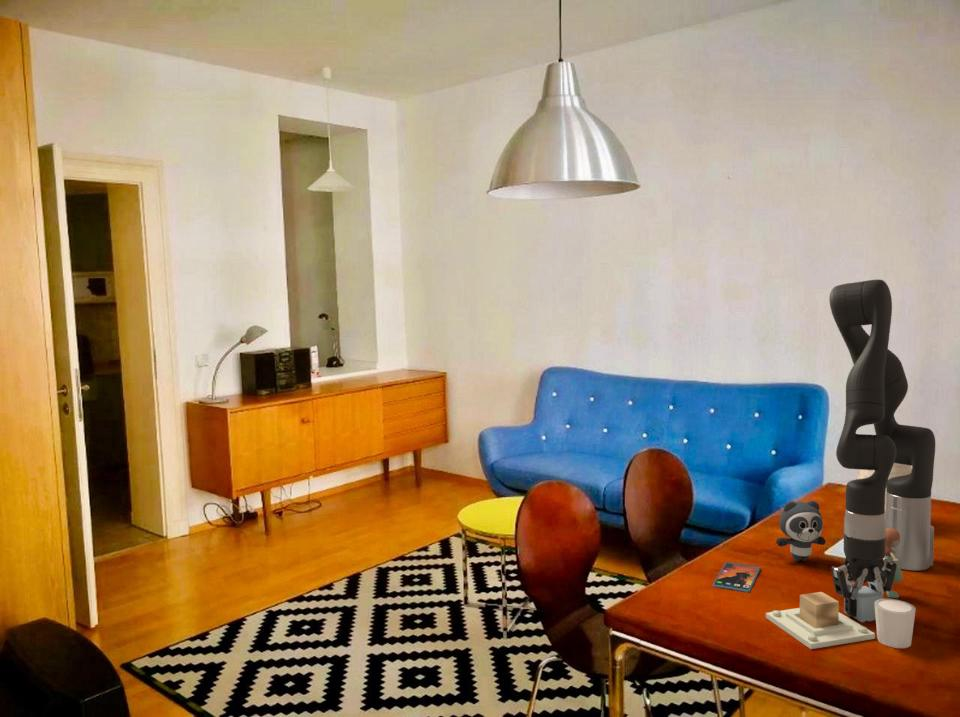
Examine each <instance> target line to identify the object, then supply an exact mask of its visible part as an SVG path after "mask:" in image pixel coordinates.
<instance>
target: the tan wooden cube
mask: <svg viewBox="0 0 960 717" xmlns="http://www.w3.org/2000/svg"><path fill="white" fill-rule="evenodd" d="M839 605H840V602H839V601H838V600H837V599H835V598H833V597H832V596H830V595H829V594H826V593H824V592H822V591H818V592H811V593H803V594H799V608H800V619H801V620H803V621H804V622H806V623H807V624H809V625H810V626H812V627H813V628H815V629H816V628H822V627H828V626H835V625H839V612H840V609H839V608H840V606H839Z"/></svg>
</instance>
